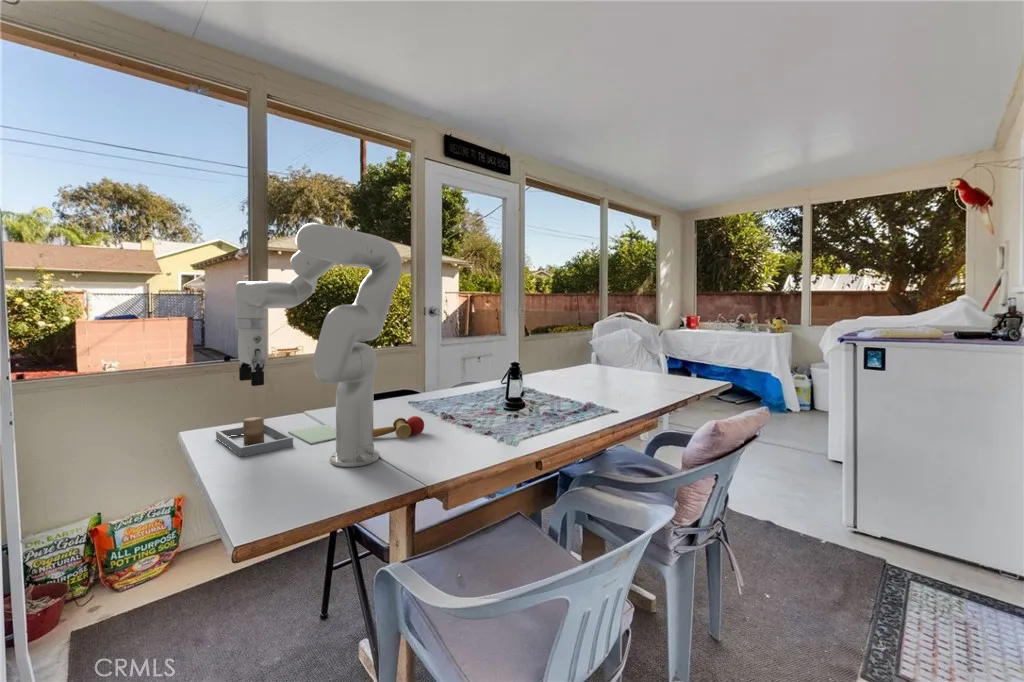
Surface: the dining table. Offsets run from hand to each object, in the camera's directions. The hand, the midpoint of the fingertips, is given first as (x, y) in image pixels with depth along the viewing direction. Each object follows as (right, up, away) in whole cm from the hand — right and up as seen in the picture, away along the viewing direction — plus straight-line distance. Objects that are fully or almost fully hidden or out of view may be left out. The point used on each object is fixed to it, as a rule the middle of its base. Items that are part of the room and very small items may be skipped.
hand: (251, 382), depth 131 cm
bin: (0, -18, +1) cm, 18 cm away
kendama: (+39, -19, +11) cm, 45 cm away
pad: (+15, -18, +11) cm, 25 cm away
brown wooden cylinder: (0, -18, +1) cm, 18 cm away
